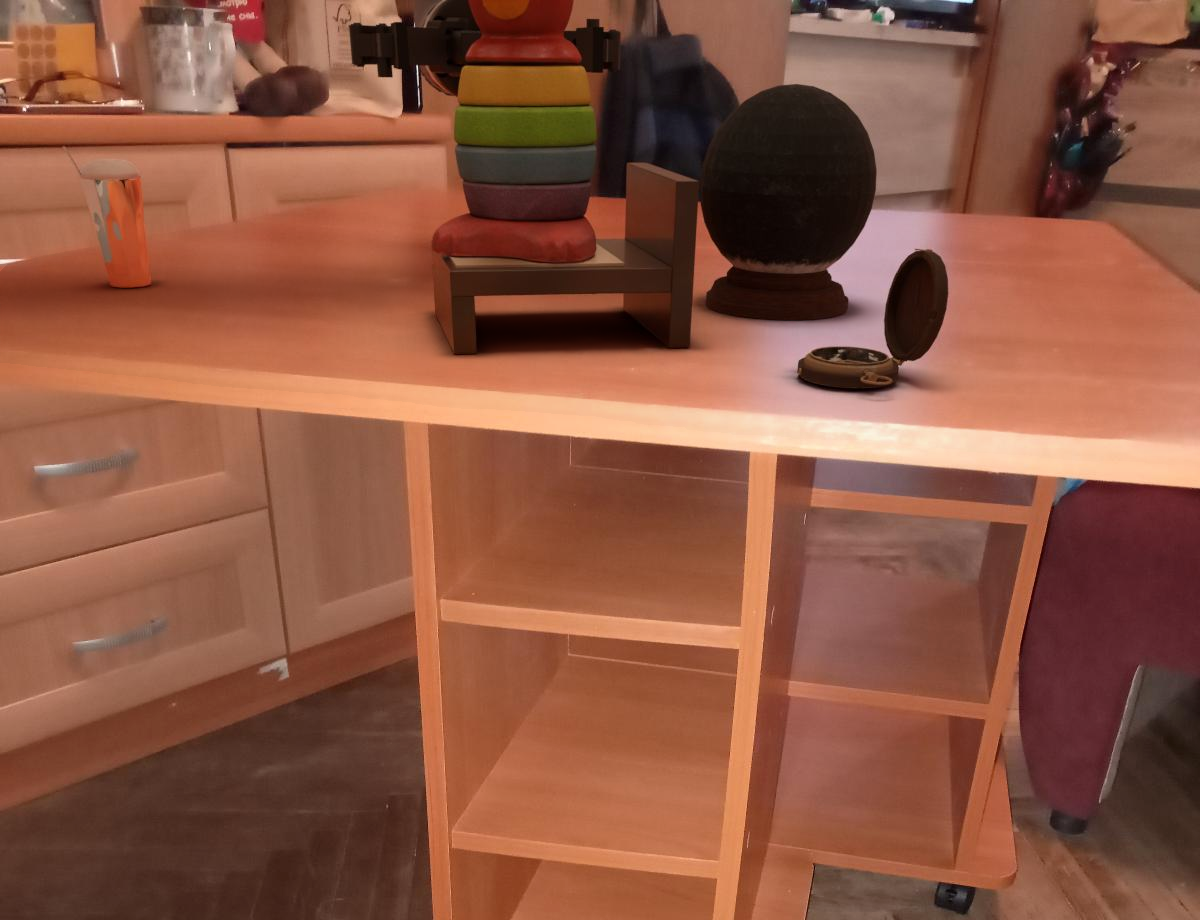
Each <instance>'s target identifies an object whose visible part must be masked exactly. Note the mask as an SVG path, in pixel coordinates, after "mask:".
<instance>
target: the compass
mask: <svg viewBox="0 0 1200 920" xmlns="http://www.w3.org/2000/svg"><path fill="white" fill-rule="evenodd" d="M948 298H949V277H948V272H947V268H946V264H945V263H944V260H943V259H942V257H941V256H940V255H939V254H938V253H936V252H935V251H934V250H933V249H931V248H926V249H922V248H914V251H913V252H911V253H910V254H909V255H907V256H906V258H904V260H903V261H902V262H901V263H900V265H899V267H898V269H897V271H896V273H895V274H894V277H893V278H892V282H891V284H890V287H889V289H888V294H887V299H886V303H885V309H884V318H883V326H884V327H883V328H884V338H885V343H886V347H887V349H888V352H889V353H890V355H891V356H892V357H889V355H888V354H887V353H885V352H884V351H880V350H876V349H871V348H866V347H859V346H858V347H857V346H841V345H840V346H822V347H817V348H814V349H812V350H811V351H810V352H808V353H807V354H806V355H805V356H804V357H802V358H800V359H799V360H798V362H797V370H796V373H797V374H798V375H799V376H800V377H801V379H802V380H805V381H807V382H809V383H813V384H816V385H821V386H825V387H831V388H841V389H858V390H859V389H877V388H881V387H882V388H883V387H886V386H890V385H891V384H893V383H894V382H896V381H897V380H898V378H899V372H900V367H901V366H903V364H904V363H905V362H908V361H910V362H915V361H917V360H920V359H922V358H923V356H925V355H926V354H927V353H928V352H929V350H930V349H931V348H932V346H933V344H934V343H935V341H936V340H937V338H938V336H939V333H940V331H941V329H942V326H943V324H944V320H945V317H946V312H947V309H948V300H949V299H948Z"/></svg>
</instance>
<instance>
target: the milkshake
mask: <svg viewBox="0 0 1200 920" xmlns="http://www.w3.org/2000/svg"><path fill="white" fill-rule="evenodd" d="M62 148H63V150H64V151H65V153H66V155H67V156H68V158H69V159H70V161H71V163H72V164H73V166H74V169H75V170H76V171H77V174H78V177H79V181H80V185H81V187H82V191H83V194H84V197H85V201H86V204H87V208H88V211H89V213H90V216H91V219H92V223H93V225H94V229H95V233H96V237H97V240H98V243H99V247H100V252H101V254H102V255H101V256H102V258H103V262H104V266H105V269H106V270H105V271H106V274H107V277H108V281H109V285H110V286H111V287H112V288H113V287H114V288H118V289H119V288H120V289H121V288H122V289H126V288H127V289H131V288H133V289H134V288H142V287H143V288H144V287H147V286H150V285H152V279H151V269H150V261H149V254H148V244H147V235H146V226H145V213H144V200H143V188H142V178H141V172H140V170H139V168H138V167H137V166H136V165H135V164H134V163H132V162H131V161H130V160H127V159H124V158H113V157H108V158H102V157H96V158H94V159H93V160H90V161H87V162H85V163H83V164H82V166H80V168H79V167H78V166H77V164H76V162H75V161H74V159H73V157H72V156H71V153H70V152H69V150H68V148H67V147H66V146H64V145H63V146H62Z"/></svg>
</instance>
